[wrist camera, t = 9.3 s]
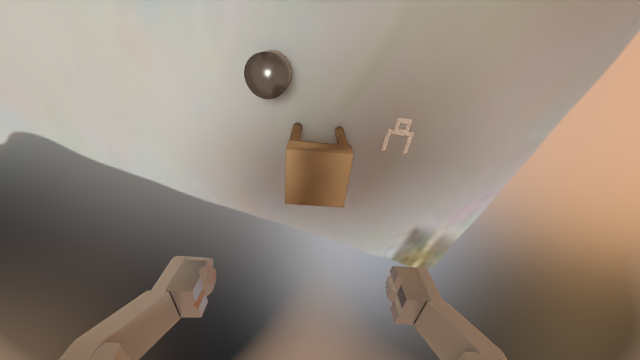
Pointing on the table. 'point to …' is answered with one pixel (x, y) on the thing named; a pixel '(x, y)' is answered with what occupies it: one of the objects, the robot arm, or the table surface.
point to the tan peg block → (317, 170)
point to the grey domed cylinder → (268, 74)
